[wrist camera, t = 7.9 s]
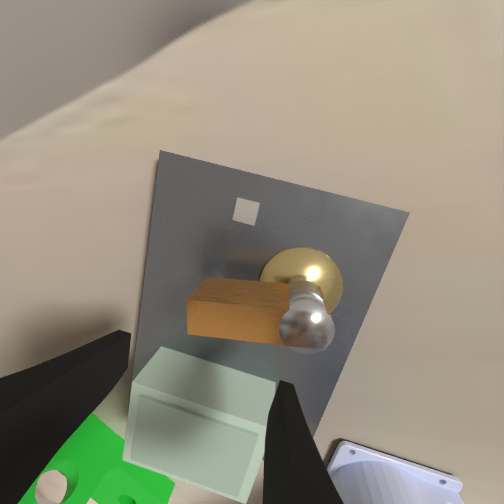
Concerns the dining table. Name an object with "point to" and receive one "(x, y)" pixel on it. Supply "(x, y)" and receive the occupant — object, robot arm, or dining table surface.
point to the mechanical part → (102, 470)
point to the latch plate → (260, 266)
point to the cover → (198, 423)
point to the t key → (262, 312)
